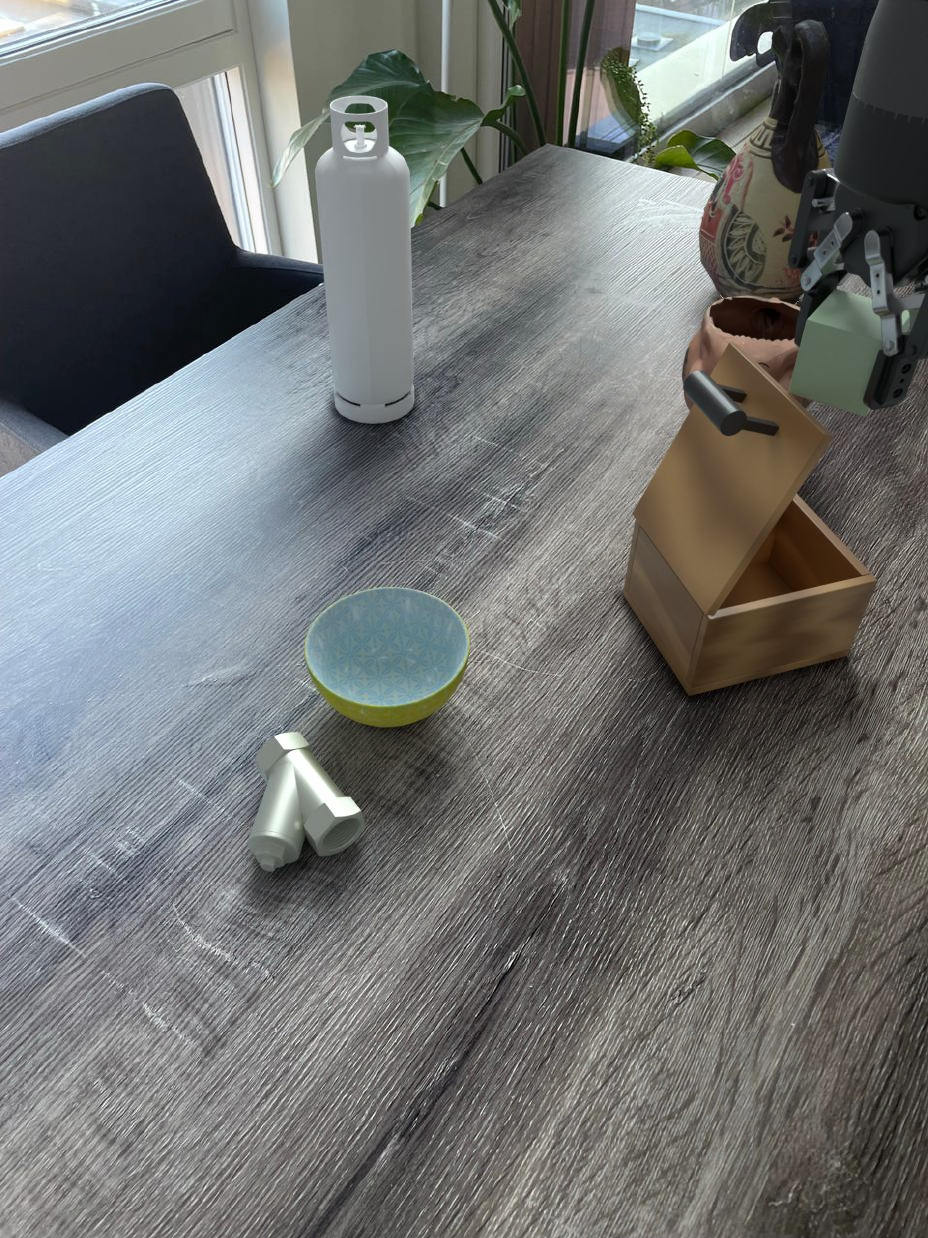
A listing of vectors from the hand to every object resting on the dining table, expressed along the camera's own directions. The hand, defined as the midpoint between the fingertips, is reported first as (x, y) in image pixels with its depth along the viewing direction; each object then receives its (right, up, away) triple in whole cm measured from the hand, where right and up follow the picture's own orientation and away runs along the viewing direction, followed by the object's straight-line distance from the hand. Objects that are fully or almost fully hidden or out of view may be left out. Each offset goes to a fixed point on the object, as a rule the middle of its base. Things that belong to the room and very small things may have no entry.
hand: (843, 373), depth 63 cm
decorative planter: (+2, +1, +34) cm, 34 cm away
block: (0, -1, +1) cm, 1 cm away
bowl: (-29, -22, +10) cm, 38 cm away
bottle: (-33, +6, +39) cm, 51 cm away
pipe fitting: (-35, -29, +2) cm, 46 cm away
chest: (-3, -16, +16) cm, 23 cm away
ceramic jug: (+10, +22, +55) cm, 60 cm away
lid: (-6, -6, +5) cm, 10 cm away
